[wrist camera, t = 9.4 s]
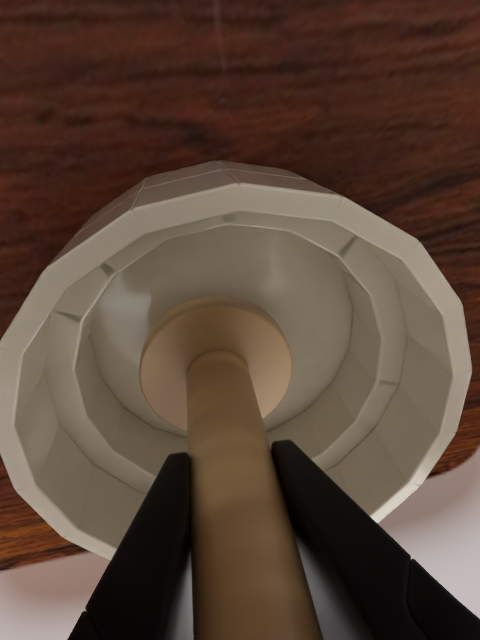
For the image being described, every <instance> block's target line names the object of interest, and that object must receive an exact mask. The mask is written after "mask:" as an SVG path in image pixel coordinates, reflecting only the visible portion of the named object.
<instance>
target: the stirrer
mask: <svg viewBox="0 0 480 640" xmlns="http://www.w3.org/2000/svg"><path fill="white" fill-rule="evenodd" d="M292 369H293V363H292V355H291V350H290V348H289V345H288V342H287V340H286V338H285V336H284V334H283V332H282V330H281V329H280V327H279V325H278V324H277V322H276V321H275V320H274V319H273V318H272V317H271V316H270V315H269V314H268V313H267V312H266V311H265V310H263V309H262V308H260V307H259V306H257V305H255V304H253V303H251V302H249V301H246V300H243V299H240V298H236V297H230V296H206V297H200V298H196V299H193V300H190V301H187V302H185V303H182V304H180V305H178V306H177V307H175V308H173V309H171V310H170V311H169V312H167V313H166V314H165V315H163V316H162V317H161V318H160V319H159V320H158V321H157V322H156V324H155V325H154V326H153V327H152V329H151V330H150V332H149V334H148V335H147V337H146V340H145V342H144V345H143V349H142V353H141V359H140V365H139V382H140V386H141V390H142V393H143V395H144V398H145V400H146V401H147V403H148V405H149V406H150V408H151V409H152V410H153V411H154V412H155V413H156V414H157V415H158V416H159V417H160V418H161V419H162V420H164V421H165V422H167V423H168V424H169V425H171V426H173V427H175V428H177V429H180V430H183V431H185V432H188V454H189V462H190V494H191V572H192V608H193V640H324V639H323V635H322V632H321V628H320V625H319V621H318V617H317V614H316V610H315V607H314V603H313V599H312V596H311V592H310V589H309V585H308V581H307V578H306V574H305V571H304V567H303V563H302V560H301V556H300V553H299V549H298V545H297V542H296V538H295V535H294V531H293V527H292V524H291V520H290V517H289V513H288V509H287V506H286V502H285V499H284V495H283V491H282V488H281V484H280V481H279V477H278V473H277V470H276V466H275V463H274V459H273V455H272V452H271V448H270V445H269V441H268V437H267V434H266V430H265V427H264V423H263V419H264V418H265V417H266V416H268V415H269V414H270V413H271V412H272V411H273V410H274V409H275V408H276V407H277V406H278V404H279V403H280V402H281V400H282V399H283V397H284V395H285V394H286V392H287V389H288V387H289V384H290V381H291V377H292Z"/></svg>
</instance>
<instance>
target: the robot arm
mask: <svg viewBox="0 0 480 640" xmlns="http://www.w3.org/2000/svg"><path fill="white" fill-rule="evenodd" d="M271 452H272V455H273V459H274V463H275V466H276V470H277V473H278V477H279V481H280V484H281V488H282V491H283V495H284V499H285V502H286V506H287V509H288V513H289V517H290V520H291V524H292V527H293V531H294V535H295V538H296V542H297V545H298V549H299V553H300V556H301V560H302V563H303V567H304V571H305V574H306V578H307V581H308V585H309V589H310V592H311V596H312V599H313V603H314V607H315V610H316V614H317V617H318V621H319V625H320V628H321V632H322V635H323V639H324V640H480V619H479V618H478V617H477V616H476V615H474V614H473V613H472V612H471V611H469V610H468V609H467V608H466V607H465V606H464V605H462V604H461V603H460V602H459V601H458V600H457V599H456V598H454V596H453V595H451V594H450V593H449V592H448V591H447V590H446V589H445V588H444V587H443V586H442V585H441V584H439V583H438V582H437V581H436V580H435V579H434V578H433V577H432V576H431V575H430V574H429V573H428V572H427V571H426V570H425V569H424V568H423V567H422V566H421V565H420V564H419V563H418V562H416V560H414V559H412V560H411V556H410V555H409V554H408V553H407V552H406V551H405V550H404V549H403V548H402V547H401V546H400V545H399V544H398V543H397V542H396V541H395V540H394V539H393V538H392V537H391V536H389V534H388V533H386V531H384V530H383V529H382V528H381V527H380V526H379V525H378V524H377V523H376V522H375V521H374V520H373V519H372V518H371V517H370V516H369V515H368V514H367V513H366V512H365V511H364V510H363V509H362V508H361V507H360V506H359V505H358V504H357V503H356V502H355V501H354V500H353V499H352V498H350V497H349V496H348V495H347V494H346V493H345V492H344V491H343V490H342V489H341V488H340V487H339V486H338V485H337V484H336V483H335V482H334V481H333V480H332V479H331V478H330V477H329V476H328V475H327V474H326V473H325V472H324V471H323V470H322V469H321V468H320V467H319V466H318V465H316V464H315V463H314V462H313V461H312V460H311V459H310V458H309V457H308V456H307V455H306V454H305V453H304V452H303V451H302V450H301V449H300V448H299V447H298V446H297V445H296V444H295V443H294V442H293V441H292V440H289V439H285V440H277V441H273V442H272V444H271ZM85 609H86V611H84V612H82V614H81V616H80V617H79V619H78V621H77V623H76V625H75V627H74V629H73V631H72V632H71V634H70V636H69V638H68V639H67V640H193V608H192V572H191V494H190V462H189V454H188V453H187V452H179V453H171V454H169V455H168V456H167V458H166V460H165V462H164V464H163V465H162V467H161V469H160V471H159V473H158V475H157V476H156V478H155V480H154V482H153V484H152V486H151V487H150V489H149V491H148V493H147V495H146V497H145V499H144V500H143V502H142V504H141V506H140V508H139V510H138V511H137V513H136V515H135V517H134V519H133V521H132V522H131V524H130V526H129V528H128V530H127V532H126V533H125V535H124V537H123V539H122V541H121V543H120V544H119V546H118V548H117V550H116V552H115V554H114V555H113V557H112V559H111V561H110V563H109V565H108V566H107V568H106V570H105V572H104V574H103V576H102V577H101V579H100V581H99V583H98V585H97V587H96V589H95V590H94V592H93V594H92V596H91V598H90V600H89V601H88V603H87V605H86V607H85Z"/></svg>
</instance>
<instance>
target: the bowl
mask: <svg viewBox="0 0 480 640" xmlns="http://www.w3.org/2000/svg"><path fill="white" fill-rule="evenodd" d="M206 296H230V297H236V298H240V299H243V300H246V301H249V302H251V303H253V304H255V305H257V306H259V307H260V308H262V309H263V310H265V311H266V312H267V313H268V314H269V315H270V316H271V317H272V318H273V319H274V320H275V321H276V322H277V324H278V325H279V327H280V329H281V330H282V332H283V334H284V336H285V338H286V340H287V342H288V345H289V348H290V350H291V355H292V363H293V369H292V377H291V381H290V384H289V387H288V389H287V392H286V394H285V395H284V397H283V399H282V400H281V402H280V403H279V404H278V406H277V407H276V408H275V409H274V410H273V411H272V412H271V413H270V414H269V415H268V416H266V417H265V418H264V419H263V423H264V427H265V430H266V434H267V437H268V441H269V445H270V448H271V444H272V442H273V441H277V440H285V439H289V440H292V441H293V442H294V443H295V444H296V445H297V446H298V447H299V448H300V449H301V450H302V451H303V452H304V453H305V454H306V455H307V456H308V457H309V458H310V459H311V460H312V461H313V462H314V463H315V464H316V465H318V466H319V467H320V468H321V469H322V470H323V471H324V472H325V473H326V474H327V475H328V476H329V477H330V478H331V479H332V480H333V481H334V482H335V483H336V484H337V485H338V486H339V487H340V488H341V489H342V490H343V491H344V492H345V493H346V494H347V495H348V496H349V497H350V498H352V499H353V500H354V501H355V502H356V503H357V504H358V505H359V506H360V507H361V508H362V509H363V510H364V511H365V512H366V513H367V514H368V515H369V516H370V517H371V518H372V519H373V520H374V521H375V522H376V523H377V524H378V523H379V522H380V521H381V520H382V519H383V518H385V517H386V516H387V515H388V514H389V513H391V512H392V511H393V510H394V509H395V508H396V507H397V506H399V505H400V504H401V503H402V502H403V501H404V500H406V499H407V498H408V497H409V496H410V495H411V494H412V493H413V492H415V491H416V490H417V489H418V488H419V487H420V485H422V484H423V482H424V481H425V479H426V478H427V476H428V475H429V473H430V472H431V470H432V469H433V467H434V466H435V464H436V463H437V461H438V460H439V458H440V457H441V455H442V454H443V452H444V451H445V449H446V448H447V446H448V445H449V443H450V442H451V440H452V439H453V437H454V436H455V432H456V431H457V428H458V424H459V420H460V417H461V413H462V409H463V405H464V401H465V398H466V394H467V390H468V386H469V382H470V378H471V375H472V371H471V370H472V364H471V357H470V351H469V344H468V337H467V331H466V324H465V317H464V310H463V305H462V303H461V300H460V299H459V298H458V296H457V295H456V293H455V292H454V290H453V289H452V287H451V286H450V284H449V283H448V281H447V280H446V279H445V277H444V276H443V274H442V273H441V271H440V270H439V268H438V267H437V265H436V264H435V262H434V261H433V260H432V258H431V257H430V255H429V254H428V252H427V251H426V249H425V248H424V246H423V245H422V243H421V242H419V241H418V240H417V239H416V238H415V237H413V236H411V235H409V234H408V233H406V232H404V231H403V230H401V229H399V228H397V227H396V226H394V225H392V224H391V223H389V222H387V221H385V220H384V219H382V218H380V217H378V216H377V215H375V214H373V213H372V212H370V211H368V210H366V209H365V208H363V207H361V206H360V205H358V204H356V203H354V202H353V201H351V200H349V199H348V198H346V197H344V196H342V195H340V194H338V193H336V192H333V191H331V190H329V189H327V188H325V187H323V186H321V185H318V184H316V183H314V182H312V181H310V180H308V179H306V178H303V177H301V176H299V175H297V174H295V173H293V172H291V171H287V170H285V169H280V168H273V167H266V166H258V165H251V164H244V163H236V162H229V161H222V160H219V161H218V162H217V161H211V162H207V163H202V164H198V165H194V166H190V167H186V168H182V169H178V170H174V171H169V172H165V173H161V174H157V175H153V176H149V177H148V178H145V179H143V180H142V181H140V182H139V183H137V184H136V185H135V186H133V187H132V188H130V189H129V190H128V191H126V192H125V193H123V194H122V195H121V196H119V197H118V198H116V199H115V200H113V201H112V202H111V203H109V204H108V205H106V206H105V207H104V208H102V209H101V210H99V211H98V212H96V213H95V214H94V215H92V216H91V217H90V218H89V219H88V220H87V222H86V223H85V224H84V225H83V226H82V227H81V228H80V230H79V231H78V232H77V233H76V234H75V235H74V236H73V237H72V239H71V240H70V241H69V242H68V243H67V244H66V245H65V246H64V248H63V249H62V250H61V251H60V252H59V253H58V254H57V256H56V257H55V258H54V259H53V260H52V261H51V263H50V264H49V265H48V266H47V267H46V268H45V269H44V271H43V272H42V273H41V275H40V277H39V278H38V280H37V282H36V283H35V285H34V286H33V288H32V290H31V291H30V293H29V295H28V296H27V298H26V299H25V301H24V303H23V304H22V306H21V308H20V309H19V311H18V312H17V314H16V316H15V317H14V319H13V321H12V322H11V324H10V325H9V327H8V329H7V330H6V332H5V334H4V335H3V337H2V338H1V340H0V454H1V457H2V459H3V462H4V464H5V467H6V469H7V472H8V474H9V477H10V479H11V482H12V484H13V487H14V489H15V490H16V492H17V493H18V494H19V495H20V496H21V497H22V498H23V499H24V500H25V501H26V502H27V503H28V504H29V505H30V506H31V507H32V508H33V509H34V510H35V511H36V512H37V513H38V514H39V515H40V516H41V517H42V518H43V519H44V520H45V521H46V522H47V523H48V524H49V525H50V526H51V527H52V528H53V529H54V530H55V531H56V532H57V533H58V534H59V535H60V536H62V537H64V539H66V540H68V541H70V542H72V543H74V544H77V545H79V546H81V547H83V548H85V549H87V550H89V551H91V552H93V553H95V554H97V555H99V556H101V557H104V558H106V559H108V560H110V561H111V559H112V557H113V555H114V554H115V552H116V550H117V548H118V546H119V544H120V543H121V541H122V539H123V537H124V535H125V533H126V532H127V530H128V528H129V526H130V524H131V522H132V521H133V519H134V517H135V515H136V513H137V511H138V510H139V508H140V506H141V504H142V502H143V500H144V499H145V497H146V495H147V493H148V491H149V489H150V487H151V486H152V484H153V482H154V480H155V478H156V476H157V475H158V473H159V471H160V469H161V467H162V465H163V464H164V462H165V460H166V458H167V456H168V455H169V454H171V453H179V452H187V453H188V432H185V431H183V430H180V429H177V428H175V427H173V426H171V425H169V424H168V423H167V422H165V421H164V420H162V419H161V418H160V417H159V416H158V415H157V414H156V413H155V412H154V411H153V410H152V409H151V408H150V406H149V405H148V403H147V401H146V400H145V398H144V395H143V393H142V390H141V386H140V382H139V365H140V359H141V353H142V349H143V345H144V342H145V340H146V337H147V335H148V334H149V332H150V330H151V329H152V327H153V326H154V325H155V324H156V322H157V321H158V320H159V319H160V318H161V317H162V316H163V315H165V314H166V313H167V312H169V311H170V310H171V309H173V308H175V307H177V306H178V305H180V304H182V303H185V302H187V301H190V300H193V299H196V298H200V297H206Z"/></svg>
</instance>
